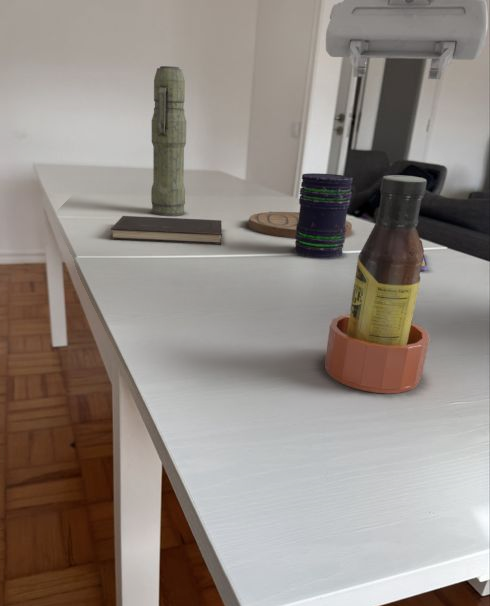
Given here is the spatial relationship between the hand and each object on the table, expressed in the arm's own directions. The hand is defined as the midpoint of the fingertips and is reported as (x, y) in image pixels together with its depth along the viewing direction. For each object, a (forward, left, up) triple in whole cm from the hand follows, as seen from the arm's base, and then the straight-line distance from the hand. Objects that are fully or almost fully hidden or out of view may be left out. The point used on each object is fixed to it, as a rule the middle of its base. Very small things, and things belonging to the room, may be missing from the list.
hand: (396, 73), depth 71 cm
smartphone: (-27, -17, -31) cm, 44 cm away
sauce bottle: (+16, +20, -30) cm, 40 cm away
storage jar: (-14, -28, -31) cm, 44 cm away
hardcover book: (+8, -53, -31) cm, 62 cm away
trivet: (-26, -51, -31) cm, 65 cm away
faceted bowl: (+16, +20, -31) cm, 40 cm away
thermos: (-3, -79, -31) cm, 85 cm away
